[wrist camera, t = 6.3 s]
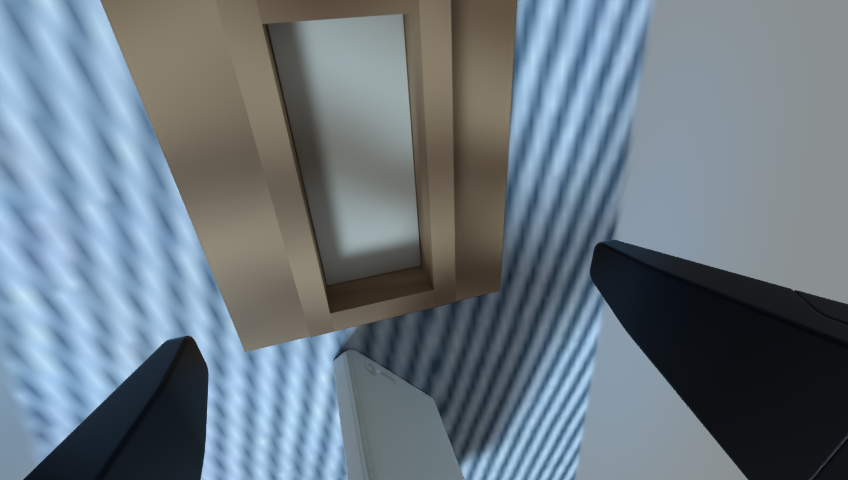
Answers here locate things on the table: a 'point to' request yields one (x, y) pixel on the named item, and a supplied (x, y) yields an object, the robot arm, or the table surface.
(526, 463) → the table surface
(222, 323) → the table surface
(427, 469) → the external hard drive
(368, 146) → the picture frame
